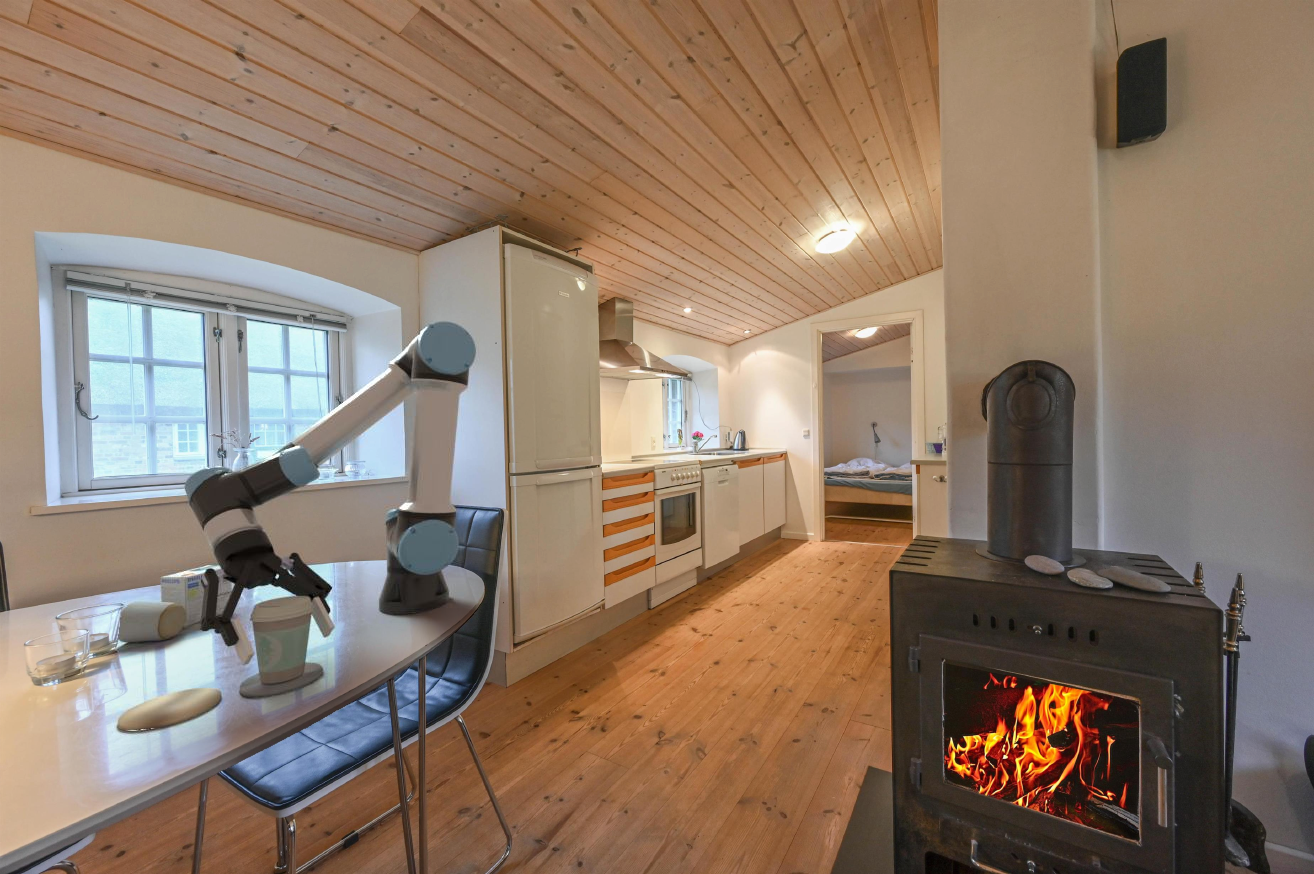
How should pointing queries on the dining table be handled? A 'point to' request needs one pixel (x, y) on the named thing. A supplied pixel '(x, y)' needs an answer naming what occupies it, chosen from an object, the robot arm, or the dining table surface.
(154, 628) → the ceramic mug
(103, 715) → the dining table surface
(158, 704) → the cork coaster
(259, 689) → the slate coaster
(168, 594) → the light bulb box
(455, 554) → the robot arm
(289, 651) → the coffee cup
